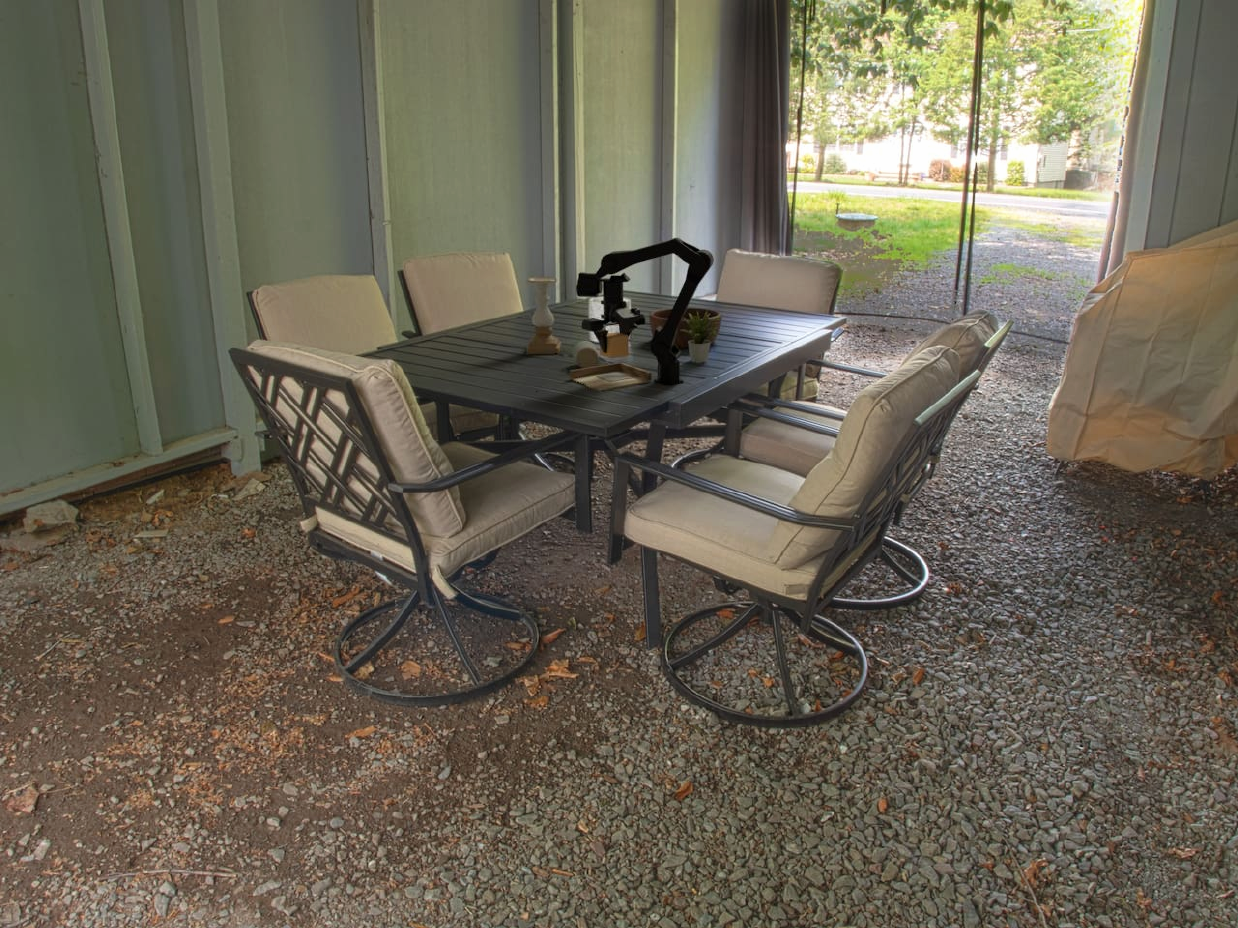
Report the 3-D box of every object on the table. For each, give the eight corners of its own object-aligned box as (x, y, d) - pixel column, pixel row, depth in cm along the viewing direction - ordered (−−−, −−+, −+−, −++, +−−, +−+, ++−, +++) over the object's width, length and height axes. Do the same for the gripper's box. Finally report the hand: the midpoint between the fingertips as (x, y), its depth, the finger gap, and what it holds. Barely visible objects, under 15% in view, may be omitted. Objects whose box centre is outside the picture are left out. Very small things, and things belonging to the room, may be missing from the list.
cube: (617, 352, 258) (616, 332, 256) (628, 355, 254) (628, 335, 252) (600, 354, 255) (599, 334, 253) (611, 358, 250) (610, 337, 248)
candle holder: (559, 354, 289) (556, 281, 281) (526, 354, 289) (522, 281, 281) (561, 346, 299) (559, 276, 291) (529, 347, 299) (526, 276, 291)
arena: (651, 381, 254) (651, 372, 253) (599, 391, 244) (599, 381, 243) (620, 371, 266) (620, 362, 265) (570, 379, 257) (569, 370, 256)
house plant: (720, 368, 268) (721, 315, 263) (675, 366, 271) (676, 314, 266) (724, 357, 282) (725, 307, 276) (681, 356, 284) (682, 306, 279)
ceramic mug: (576, 370, 267) (575, 346, 264) (572, 364, 275) (572, 340, 272) (610, 369, 269) (610, 345, 266) (605, 363, 276) (605, 339, 274)
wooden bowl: (732, 340, 308) (733, 310, 304) (700, 353, 288) (701, 322, 284) (670, 333, 320) (671, 305, 317) (635, 345, 300) (635, 316, 297)
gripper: (601, 304, 237) (602, 360, 243) (656, 297, 247) (656, 351, 252) (579, 299, 246) (581, 353, 252) (634, 292, 256) (634, 345, 261)
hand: (614, 351), depth 254 cm, fingers closed on cube, 6 cm apart
